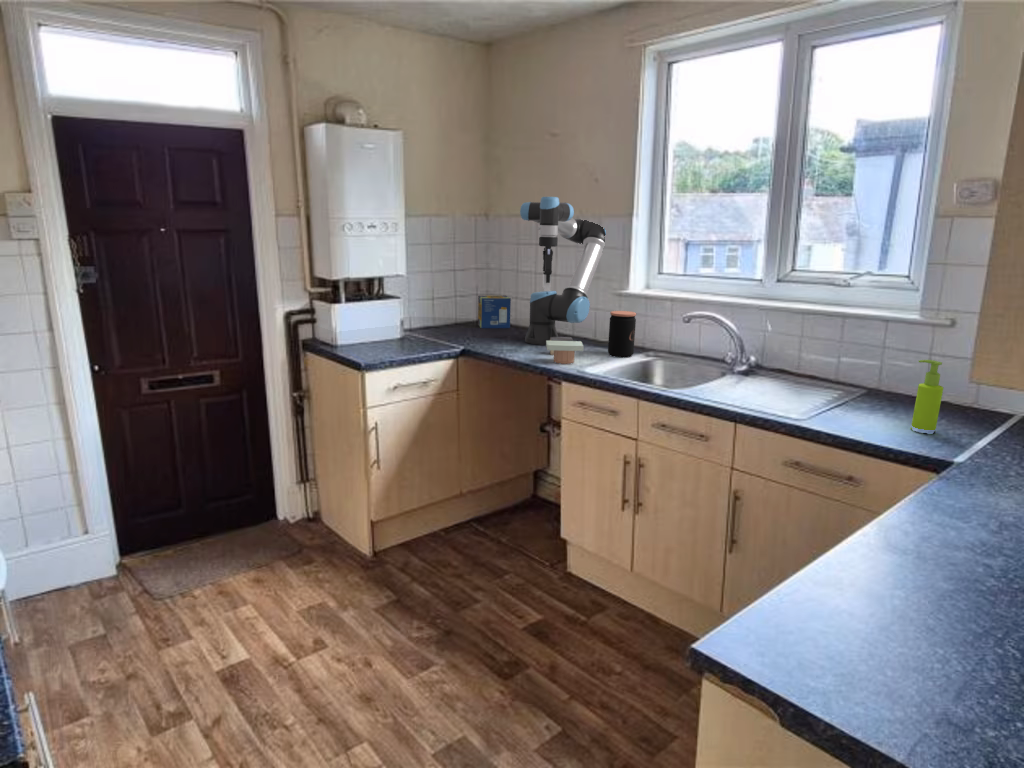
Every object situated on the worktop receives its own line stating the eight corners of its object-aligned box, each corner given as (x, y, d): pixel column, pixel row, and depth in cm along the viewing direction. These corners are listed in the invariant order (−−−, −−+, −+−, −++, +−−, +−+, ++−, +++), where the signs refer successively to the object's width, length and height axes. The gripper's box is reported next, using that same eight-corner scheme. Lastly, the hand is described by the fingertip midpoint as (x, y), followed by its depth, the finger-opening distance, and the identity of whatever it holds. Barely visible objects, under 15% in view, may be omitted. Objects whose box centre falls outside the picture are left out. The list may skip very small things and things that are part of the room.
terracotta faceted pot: (553, 359, 270) (553, 346, 268) (573, 359, 270) (573, 346, 268) (554, 363, 262) (554, 349, 260) (574, 364, 262) (575, 350, 260)
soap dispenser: (912, 425, 192) (924, 357, 187) (938, 432, 187) (951, 362, 182) (902, 429, 189) (915, 359, 184) (929, 435, 183) (942, 364, 178)
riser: (549, 352, 284) (550, 337, 283) (571, 352, 284) (571, 337, 283) (550, 354, 278) (551, 339, 277) (572, 355, 278) (573, 340, 277)
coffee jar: (633, 358, 275) (636, 314, 271) (606, 356, 277) (609, 313, 273) (633, 353, 285) (636, 311, 281) (608, 352, 287) (611, 310, 283)
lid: (546, 345, 269) (546, 340, 269) (580, 346, 269) (581, 341, 269) (547, 350, 260) (547, 345, 259) (583, 351, 260) (583, 346, 259)
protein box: (477, 325, 349) (477, 295, 346) (506, 324, 353) (507, 295, 349) (480, 328, 340) (481, 297, 336) (510, 328, 343) (511, 297, 339)
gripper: (538, 235, 283) (536, 285, 288) (540, 237, 258) (538, 292, 264) (555, 235, 283) (553, 286, 288) (559, 237, 258) (557, 292, 264)
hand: (546, 289), depth 276 cm, fingers open, 13 cm apart
